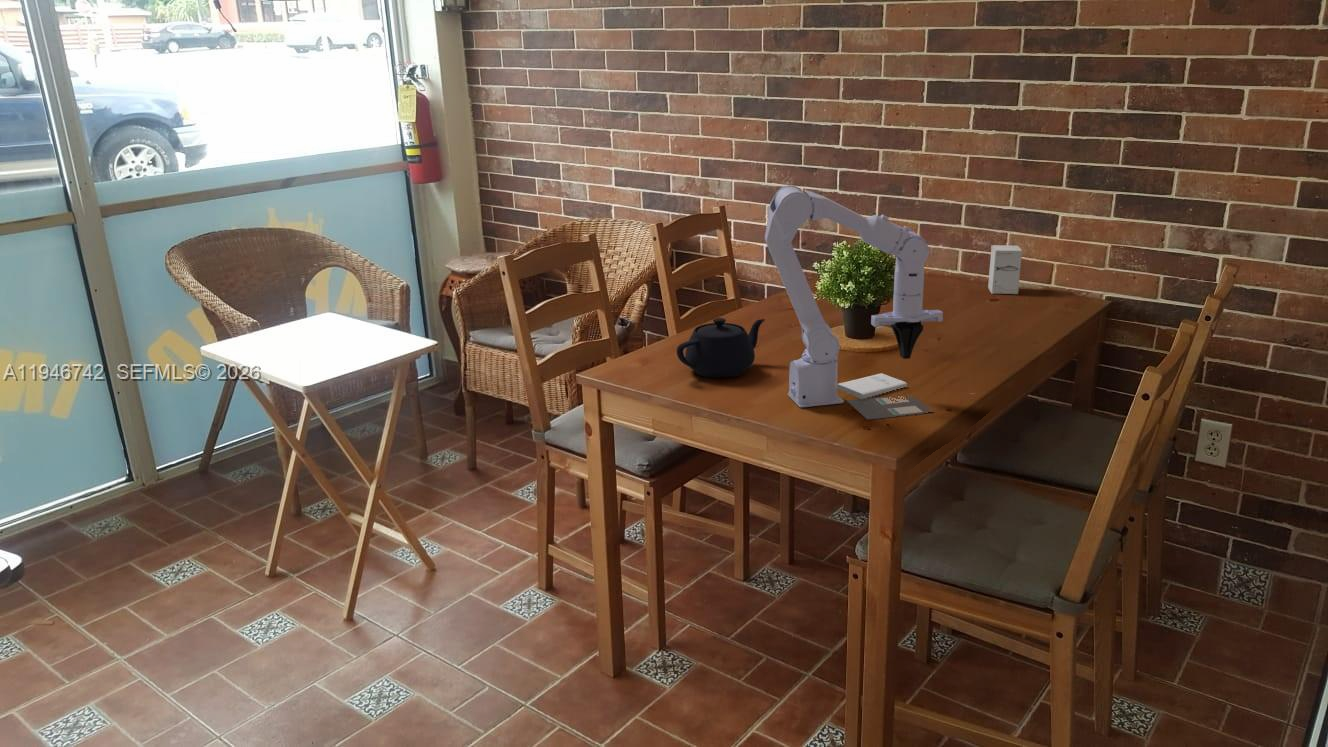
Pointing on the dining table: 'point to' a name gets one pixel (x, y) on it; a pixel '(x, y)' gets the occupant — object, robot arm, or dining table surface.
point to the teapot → (720, 349)
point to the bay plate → (888, 407)
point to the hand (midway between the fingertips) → (905, 357)
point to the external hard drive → (871, 385)
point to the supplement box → (1004, 269)
